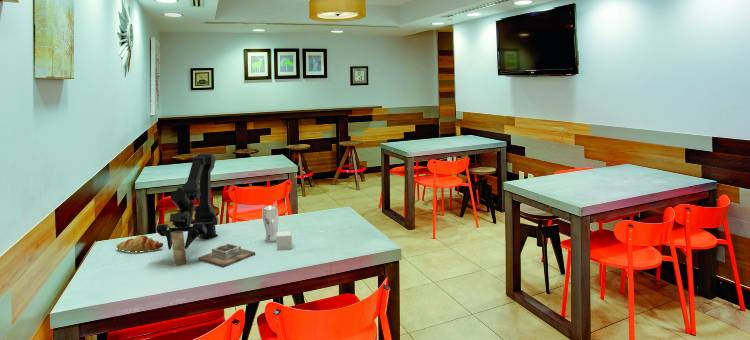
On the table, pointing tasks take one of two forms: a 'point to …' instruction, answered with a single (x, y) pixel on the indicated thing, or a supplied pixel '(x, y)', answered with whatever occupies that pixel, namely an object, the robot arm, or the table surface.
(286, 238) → the light grey cube
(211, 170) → the robot arm
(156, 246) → the croissant
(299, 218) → the table surface
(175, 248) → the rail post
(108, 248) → the table surface
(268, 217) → the beer glass
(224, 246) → the cup bracket
